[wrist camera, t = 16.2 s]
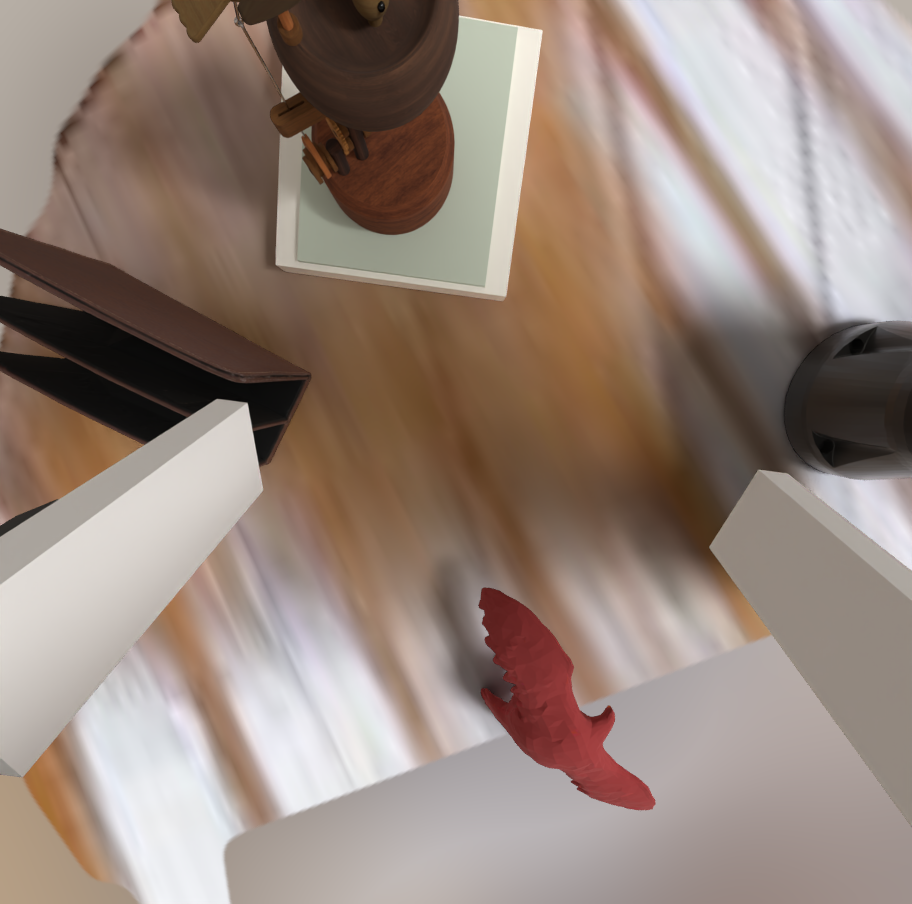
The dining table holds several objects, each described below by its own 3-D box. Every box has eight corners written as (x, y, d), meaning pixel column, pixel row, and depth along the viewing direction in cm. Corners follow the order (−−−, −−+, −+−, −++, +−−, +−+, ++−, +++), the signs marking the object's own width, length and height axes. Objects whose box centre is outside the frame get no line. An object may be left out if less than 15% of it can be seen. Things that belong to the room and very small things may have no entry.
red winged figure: (565, 733, 49) (689, 787, 38) (531, 809, 43) (665, 901, 32) (456, 562, 44) (559, 565, 33) (401, 623, 39) (503, 652, 27)
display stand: (536, 52, 32) (544, 24, 29) (502, 301, 35) (507, 295, 33) (295, 10, 30) (282, -23, 28) (285, 271, 34) (272, 263, 32)
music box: (383, 282, 32) (247, 82, 12) (289, 185, 31) (-19, -196, 11) (513, 142, 30) (599, -352, 11) (417, 36, 30) (315, -708, 10)
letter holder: (112, 264, 34) (-120, 180, 20) (315, 374, 36) (234, 369, 22) (74, 363, 35) (-168, 351, 21) (271, 463, 37) (169, 511, 24)
